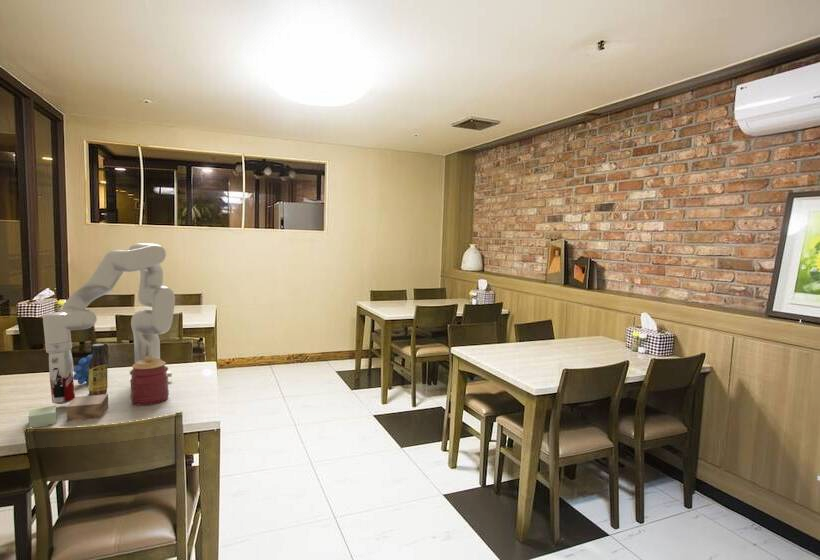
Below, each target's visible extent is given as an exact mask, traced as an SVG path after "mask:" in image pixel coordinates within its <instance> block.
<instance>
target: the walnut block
mask: <svg viewBox="0 0 820 560" xmlns="http://www.w3.org/2000/svg"><path fill="white" fill-rule="evenodd" d="M108 409H109V394H108V393H104V394H101V395H82V396H75V398H74V399H73V400H72V401H71V402H69V403H68V404H67V406H66V421H67V422H69V421H79V420H80V421H81V420H89V419H100V418H103V416H104V414H105V413H106V412H107V410H108Z"/></svg>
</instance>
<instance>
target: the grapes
mask: <svg viewBox="0 0 820 560" xmlns="http://www.w3.org/2000/svg"><path fill="white" fill-rule="evenodd" d="M92 357H93V356H92V354H88V355H87V356H86V357H82V358H80V359H79V360H78V365H74V371H73V380H74V381H77V383H78V384H79V385H83V384H84V383H87V384H89V362H90V359H91V358H92Z"/></svg>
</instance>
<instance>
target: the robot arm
mask: <svg viewBox="0 0 820 560" xmlns="http://www.w3.org/2000/svg"><path fill="white" fill-rule="evenodd" d="M166 256H167V253H166V250H165V248H164V247H163V246H162V245H160V244H157V243H142V242H140V243H134V244H132V245H130V246H129V248H128V249H127V250H124V249H112V250H109V251H108V252H107V253H105V255H104V256H103V258H102V260H101V261H100V263H98V265H97V266H96V269H95V271H94V272H93V273H92V275H91V277H89V279H88V280H87V282H85V283H84V284H82V285H80V287H79V288H78V289H77V290H75V291H74V292H73V293H72V294H71V295H70V296H69V297H68V298H67V300H66V301H65V303H64V304H63V306H62V307H61V309H60V311H57V312H56V311H55V312H49V313H46V314H44V315H43V317H42V325H43V333H44V334H43V335H44V344H45V345H44V347H45V352H46V353H47V354H48V370H49V379H50V378H51V379H52V382H53V392H54V398H58V397H64V396H65V388H64V386H63V378H67V377H68V376H69V374H70V372H72V373H74V367H75V365H74V359H73V353H72V349H73V343H72V333H71V331H79V330H88V329H90V328H92V327H93V326H94V325H96V322H97V315H96V314H95V313H94V312H93V311H92V310H89V309H86V308H87V307H88V306H89V305H90V304H91V303H92V302H93V301H95V300H96V299H98V298H100V297H102V296H105V295H108V294H109V293H111V292H112V291H113V290H114V288H115V287H116V285H117V283H118V281H119V280H120V278H121V276H122V275H123V273H124V272H126V273H131V272H132V273H133V272H137V271H139V272H140V274H139V275H140V276H139V284H138V286H139V287H138V293H137V301H138V303H139V304H140V305H141V306H144V307H147V308H152V309H140V310H138V311H136V312H134V314H133V315H132V317H131V319H130V325H131V330H132V333H133V334H132V335H133V344H134V351H133V352H134V364H135V363H136V362H137V361H140V360H144V359H145V357H146V356H148V355H151V356H152V357H153V358H156V359H161V342H160V340H161V339H160V337H159V336H160V335H163V334H166V333H168V332H169V330H170V329H171V327H172V324H173V319H174V313H175V312H174V311H175V305H176V296H175V293H174V291H173V290H172V288H171V287H168V286H165V285H163V282H164V281H163V280H164V271H163V267H162V265H161V264H162V263H163V262H164V261H165V259H166ZM167 375H168V378H171V377H172V376H173V373H172V371H167ZM58 376H61V378H58ZM58 380H61V382H60V381H58Z"/></svg>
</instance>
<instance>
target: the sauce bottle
mask: <svg viewBox="0 0 820 560" xmlns="http://www.w3.org/2000/svg"><path fill="white" fill-rule="evenodd" d="M91 349H92V354H91V355H92V356H93V357H92V358H91V359H90V362H89V383H88V394H89V396H92V395H103V394H107V392H108V361H107V358H106V356H105V352H104V350H105V344H104V343H95V344H92V345H91Z"/></svg>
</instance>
